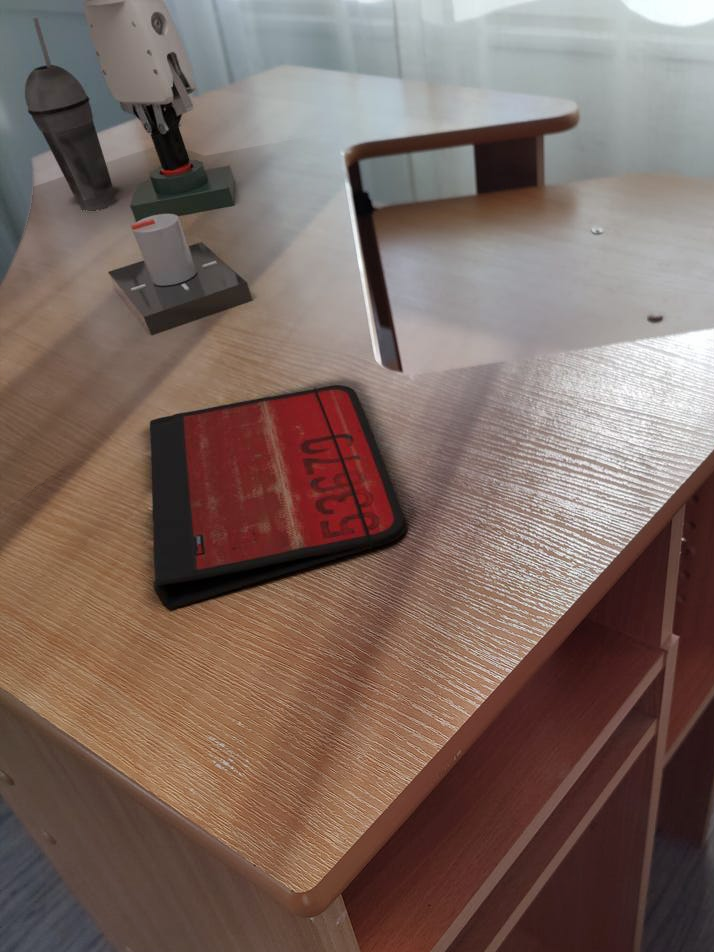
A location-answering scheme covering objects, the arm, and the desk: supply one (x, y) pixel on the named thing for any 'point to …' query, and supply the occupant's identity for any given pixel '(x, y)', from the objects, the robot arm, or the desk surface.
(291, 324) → the desk surface
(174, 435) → the binder
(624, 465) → the desk surface
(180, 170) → the button
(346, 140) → the desk surface
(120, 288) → the panel
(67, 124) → the beverage cup
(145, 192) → the button box
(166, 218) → the hob knob
